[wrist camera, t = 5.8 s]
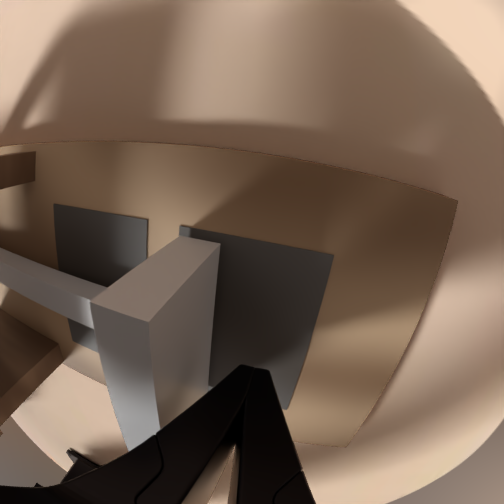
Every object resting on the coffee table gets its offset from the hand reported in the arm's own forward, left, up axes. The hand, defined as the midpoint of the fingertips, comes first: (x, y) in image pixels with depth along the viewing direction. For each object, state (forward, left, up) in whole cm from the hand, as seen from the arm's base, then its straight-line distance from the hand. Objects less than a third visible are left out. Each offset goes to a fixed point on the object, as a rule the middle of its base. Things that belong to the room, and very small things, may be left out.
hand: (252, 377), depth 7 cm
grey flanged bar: (0, +12, -1) cm, 12 cm away
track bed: (0, +8, -3) cm, 8 cm away
